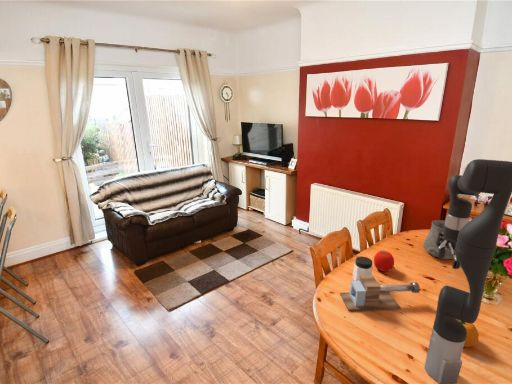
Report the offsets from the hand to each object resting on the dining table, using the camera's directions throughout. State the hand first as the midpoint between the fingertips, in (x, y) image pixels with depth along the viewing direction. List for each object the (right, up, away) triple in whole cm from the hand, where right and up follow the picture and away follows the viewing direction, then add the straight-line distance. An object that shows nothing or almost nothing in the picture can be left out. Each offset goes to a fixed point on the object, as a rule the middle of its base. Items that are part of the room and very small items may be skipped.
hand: (447, 262), depth 120 cm
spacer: (-30, -22, +19) cm, 42 cm away
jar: (-22, -18, +36) cm, 46 cm away
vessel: (+35, -10, +61) cm, 71 cm away
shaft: (-15, -18, +19) cm, 30 cm away
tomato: (-7, -15, +46) cm, 49 cm away
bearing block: (-25, -23, +20) cm, 40 cm away
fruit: (+3, -30, -2) cm, 30 cm away
